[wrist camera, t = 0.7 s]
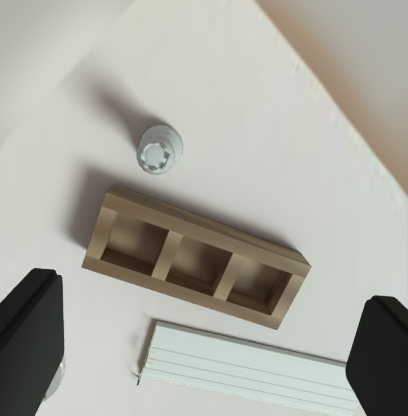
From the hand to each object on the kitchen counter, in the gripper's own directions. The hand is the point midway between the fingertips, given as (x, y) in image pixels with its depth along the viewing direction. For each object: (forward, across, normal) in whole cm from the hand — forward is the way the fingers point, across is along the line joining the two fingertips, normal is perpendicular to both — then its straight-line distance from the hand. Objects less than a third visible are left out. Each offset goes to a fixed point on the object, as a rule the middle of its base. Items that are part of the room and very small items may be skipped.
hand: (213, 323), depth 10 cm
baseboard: (+27, -11, +28) cm, 40 cm away
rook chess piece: (+26, +4, -2) cm, 27 cm away
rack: (+26, -1, +10) cm, 28 cm away
